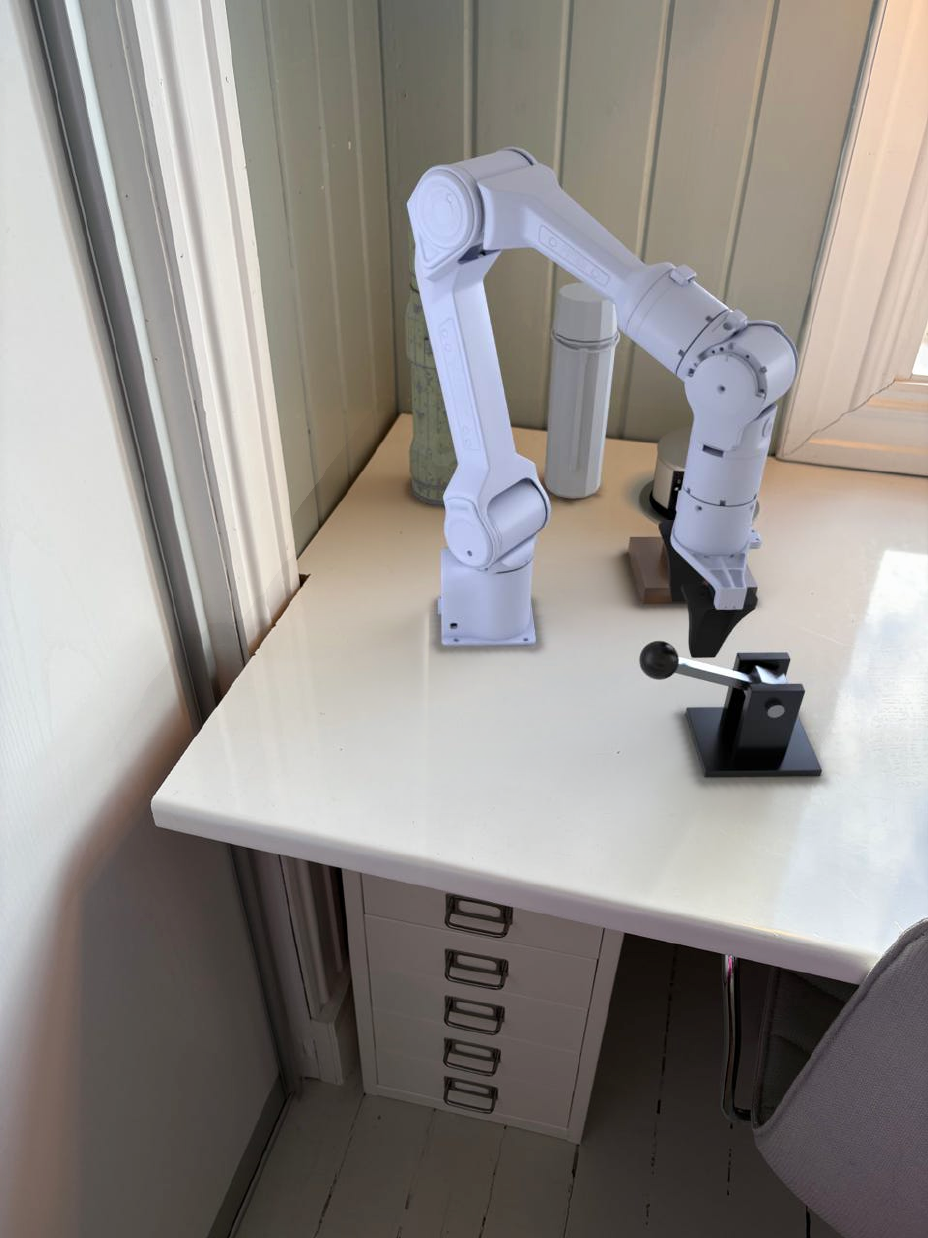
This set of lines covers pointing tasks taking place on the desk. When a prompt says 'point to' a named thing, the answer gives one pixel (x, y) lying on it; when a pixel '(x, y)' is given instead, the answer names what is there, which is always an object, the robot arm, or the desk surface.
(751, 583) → the control block
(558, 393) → the water bottle
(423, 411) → the thermos
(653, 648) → the lever
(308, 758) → the desk surface
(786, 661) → the bracket
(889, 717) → the desk surface
